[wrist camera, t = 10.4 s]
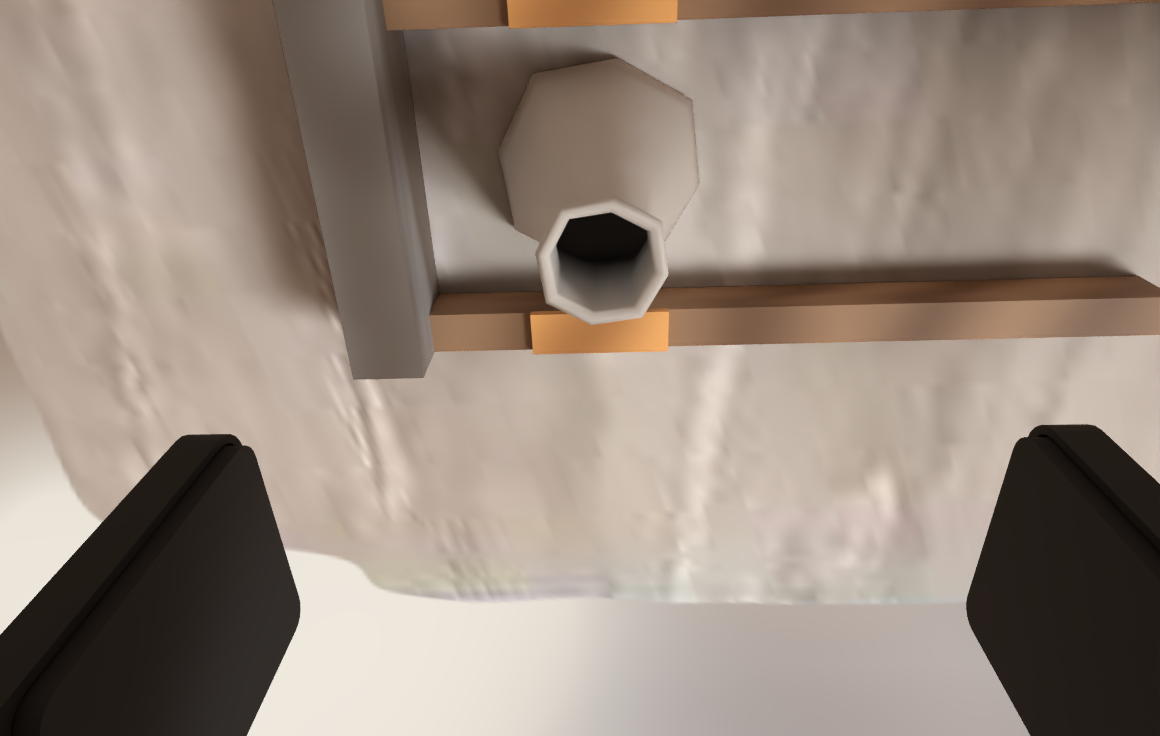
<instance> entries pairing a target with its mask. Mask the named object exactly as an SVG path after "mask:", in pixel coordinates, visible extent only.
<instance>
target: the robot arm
mask: <svg viewBox="0 0 1160 736" xmlns="http://www.w3.org/2000/svg"><path fill="white" fill-rule="evenodd" d="M966 606H967V607H966V610H967V617H968V621H969V624H970V626H971V629H972V631H973V632H974V634H975V636H976V638H977V640H978V642H979V643H980V645H981V647H982V649H983V651H984V653H985V654H986V656H987V658H988V660H989V662H990V663H991V665H992V667H993V669H994V671H995V672H996V674H997V676H998V678H999V680H1000V681H1001V683H1002V685H1003V687H1004V689H1005V690H1006V692H1007V694H1008V696H1009V697H1010V699H1011V701H1012V702H1013V705H1014V707H1015V708H1016V710H1017V712H1018V714H1019V716H1020V717H1021V719H1022V721H1023V723H1024V725H1025V726H1026V728H1027V730H1028V732H1029V734H1030V735H1031V736H1160V484H1159V483H1158V482H1157V481H1156V480H1155V479H1154V478H1153V477H1152V476H1151V475H1149V474H1148V473H1147V472H1146V471H1145V470H1144V469H1143V468H1142V467H1141V466H1140V465H1139V464H1138V463H1137V462H1135V461H1134V460H1133V459H1132V458H1131V457H1130V456H1129V455H1128V454H1127V453H1126V452H1125V451H1124V450H1123V449H1122V448H1120V447H1119V446H1118V445H1117V444H1116V443H1115V442H1114V441H1113V440H1112V439H1111V438H1110V437H1109V436H1108V435H1106V434H1105V433H1104V432H1103V431H1102V430H1101V429H1099V428H1098V427H1096V426H1093V425H1088V424H1086V425H1040V426H1037V427H1035V428H1034V429H1033V430H1032V431H1031V432H1030V434H1029V436H1028V437H1024V438H1021V439H1019V440H1018V441H1017V442H1016V444H1015V446H1014V449H1013V452H1012V455H1011V458H1010V461H1009V465H1008V468H1007V471H1006V474H1005V478H1004V481H1003V484H1002V487H1001V490H1000V494H999V497H998V500H997V503H996V506H995V510H994V513H993V516H992V519H991V522H990V526H989V529H988V532H987V535H986V539H985V542H984V545H983V548H982V551H981V555H980V558H979V561H978V564H977V567H976V571H975V574H974V577H973V580H972V583H971V587H970V590H969V593H968V596H967V602H966ZM299 618H300V600H299V596H298V592H297V589H296V586H295V583H294V579H293V576H292V573H291V570H290V567H289V563H288V560H287V556H286V553H285V550H284V547H283V543H282V540H281V537H280V534H279V530H278V527H277V524H276V521H275V517H274V514H273V511H272V508H271V504H270V501H269V498H268V495H267V491H266V488H265V485H264V482H263V478H262V475H261V472H260V469H259V465H258V462H257V459H256V456H255V454H254V451H253V450H252V449H251V448H250V447H248V446H242V444H241V442H240V441H239V440H238V438H237V437H236V436H233V435H231V434H211V435H185V436H182V437H181V438H179V439H178V440H177V441H176V442H175V443H174V444H173V445H172V446H171V447H170V448H169V449H168V451H167V452H166V453H165V454H164V455H163V456H162V457H161V458H160V459H159V460H158V462H157V463H156V464H155V465H154V466H153V467H152V468H151V469H150V470H149V472H148V473H147V474H146V475H145V476H144V477H143V478H142V479H141V480H140V481H139V483H138V484H137V485H136V486H135V487H134V488H133V489H132V490H131V491H130V492H129V494H128V495H127V496H126V497H125V498H124V499H123V500H122V501H121V502H120V504H119V505H118V506H117V507H116V508H115V509H114V510H113V511H112V512H111V513H110V515H109V516H108V517H107V518H106V519H105V520H104V521H103V522H102V523H101V524H100V526H99V527H98V528H97V529H96V530H95V531H94V532H93V533H92V534H91V536H90V537H89V538H88V539H87V540H86V541H85V542H84V543H83V544H82V546H81V547H80V548H79V549H78V550H77V551H76V552H75V553H74V554H73V555H72V557H71V558H70V559H69V560H68V561H67V562H66V563H65V564H64V565H63V566H62V568H61V569H60V570H59V571H58V572H57V573H56V574H55V575H54V576H53V577H52V579H51V580H50V581H49V582H48V583H47V584H46V585H45V586H44V587H43V588H42V590H41V591H40V592H39V593H38V594H37V595H36V596H35V597H34V599H32V601H31V602H30V603H29V604H28V605H27V606H26V607H25V609H23V610H22V612H21V613H20V614H19V615H18V616H17V617H16V618H15V619H14V620H13V622H12V623H11V624H10V625H9V626H8V627H7V628H6V629H5V630H4V631H3V633H2V634H1V635H0V736H247V734H248V732H249V729H250V727H251V725H252V723H253V721H254V719H255V717H256V714H257V712H258V710H259V708H260V706H261V704H262V702H263V699H264V697H265V695H266V693H267V691H268V689H269V686H270V684H271V682H272V680H273V678H274V676H275V674H276V672H277V669H278V667H279V665H280V663H281V661H282V659H283V656H284V655H285V652H286V650H287V648H288V646H289V644H290V642H291V640H292V637H293V635H294V633H295V631H296V628H297V626H298V622H299Z"/></svg>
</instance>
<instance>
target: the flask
mask: <svg viewBox="0 0 1160 736" xmlns="http://www.w3.org/2000/svg"><path fill="white" fill-rule="evenodd" d="M498 153H499V158H500V163H501V167H502V172H503V176H504V181H505V185H506V190H507V194H508V199H509V203H510V208H511V212H512V217H513V221H514V226H515V229H516V230H518V231H519V232H521V233H523V234H525V235H527V236H529V237H531V238H533V239H535V240H537V241H539V242H540V244H539V246H538V248H537V250H536V259H537V264H538V268H539V273H540V278H541V283H542V288H543V292H544V297H545V302H546V304H548V305H550V306H553V307H555V308H557V309H559V310H561V311H563V312H565V313H567V314H569V315H571V316H574V317H576V318H578V319H580V320H582V321H584V322H586V323H588V324H590V325H595V324H602V323H609V322H616V321H623V320H629V319H636V318H642V317H643V316H644V314H645V312H646V311H647V309H648V308H649V306H650V304H651V303H652V301H653V299H654V298H655V296H656V295H657V293H658V291H659V290H660V288H661V286H662V285H663V283H664V281H665V280H666V278H667V277H668V266H667V257H666V249H665V240H666V239H667V237H668V235H669V234H670V232H671V230H672V229H673V227H674V225H675V224H676V222H677V220H678V219H679V217H680V215H681V214H682V212H683V210H684V209H685V207H686V205H687V204H688V202H689V200H690V198H691V197H692V195H693V193H694V192H695V190H696V188H697V187H698V185H699V183H700V182H699V171H698V160H697V149H696V138H695V127H694V116H693V105H692V100H691V99H690V98H688V97H686V96H684V95H682V94H681V93H679V92H677V91H675V90H674V89H672V88H670V87H668V86H667V85H665V84H663V83H661V82H659V81H658V80H656V79H654V78H652V77H651V76H649V75H647V74H645V73H644V72H642V71H640V70H638V69H636V68H635V67H633V66H631V65H629V64H628V63H626V62H624V61H622V60H620V59H619V58H615V59H609V60H604V61H598V62H593V63H587V64H582V65H576V66H571V67H565V68H560V69H554V70H549V71H543V72H538V73H533V74H532V76H531V79H530V81H529V83H528V85H527V88H526V90H525V92H524V94H523V96H522V99H521V101H520V103H519V105H518V108H517V110H516V112H515V114H514V116H513V119H512V121H511V123H510V125H509V128H508V130H507V132H506V134H505V136H504V139H503V141H502V143H501V145H500V148H499V150H498Z"/></svg>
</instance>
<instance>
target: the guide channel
mask: <svg viewBox="0 0 1160 736" xmlns="http://www.w3.org/2000/svg"><path fill="white" fill-rule="evenodd" d="M272 1H273V6H274V10H275V15H276V20H277V25H278V29H279V34H280V39H281V43H282V48H283V53H284V57H285V62H286V67H287V71H288V76H289V81H290V85H291V90H292V95H293V99H294V104H295V109H296V113H297V118H298V123H299V127H300V132H301V137H302V141H303V146H304V151H305V156H306V160H307V165H308V170H309V174H310V179H311V184H312V188H313V193H314V198H315V202H316V207H317V212H318V216H319V221H320V226H321V230H322V235H323V240H324V244H325V249H326V254H327V258H328V263H329V268H330V272H331V277H332V282H333V287H334V291H335V296H336V301H337V305H338V310H339V315H340V319H341V324H342V329H343V333H344V338H345V343H346V347H347V352H348V357H349V361H350V366H351V371H352V375H353V379H396V378H424V376H425V373H426V371H427V368H428V366H429V363H430V361H431V359H432V356H433V354H434V352H439V351H482V350H526V349H533V354H565V353H608V352H652V351H668V346H698V345H741V344H784V343H827V342H871V341H914V340H957V339H1000V338H1043V337H1086V336H1129V335H1160V288H1159V287H1157V286H1155V285H1153V284H1152V283H1150V282H1148V281H1146V280H1145V279H1143V278H1141V277H1139V276H1120V277H1081V278H1042V279H1003V280H964V281H925V282H886V283H847V284H808V285H769V286H730V287H691V288H660V290H659V291H658V293H657V295H656V296H655V298H654V299H653V301H652V303H651V304H650V306H649V308H648V309H647V311H646V312H645V314H644V316H643V317H642V318H636V319H629V320H623V321H616V322H609V323H602V324H595V325H590V324H588V323H586V322H584V321H582V320H580V319H578V318H576V317H574V316H571V315H569V314H567V313H565V312H563V311H561V310H559V309H557V308H555V307H553V306H550V305H548V304H546V302H545V297H544V292H543V291H534V292H495V293H456V294H439V289H438V282H437V275H436V267H435V260H434V253H433V246H432V239H431V231H430V224H429V217H428V210H427V203H426V195H425V188H424V181H423V174H422V166H421V159H420V152H419V145H418V138H417V130H416V123H415V116H414V109H413V101H412V94H411V87H410V80H409V73H408V65H407V58H406V51H405V44H404V37H403V30H413V29H440V28H467V27H495V26H509V28H536V27H563V26H591V25H618V24H645V23H673V22H677V20H686V19H713V18H740V17H767V16H795V15H822V14H849V13H877V12H904V11H931V10H958V9H986V8H1013V7H1040V6H1068V5H1095V4H1122V3H1149V2H1160V0H272Z"/></svg>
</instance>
